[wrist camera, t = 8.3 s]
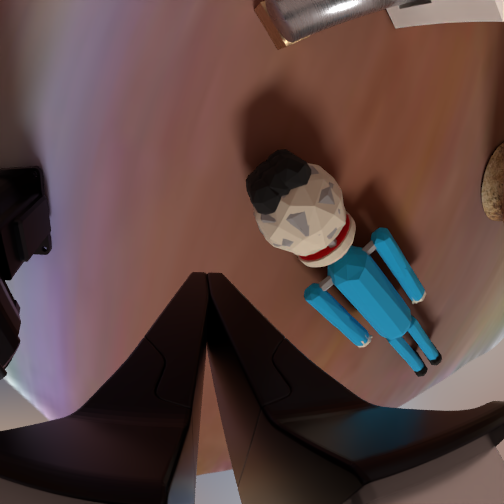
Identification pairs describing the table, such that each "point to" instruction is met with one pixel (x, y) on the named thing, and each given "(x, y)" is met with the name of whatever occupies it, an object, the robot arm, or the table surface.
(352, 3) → the metal cylinder
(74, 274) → the table surface
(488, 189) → the vase
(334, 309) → the toy
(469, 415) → the robot arm
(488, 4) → the white block
